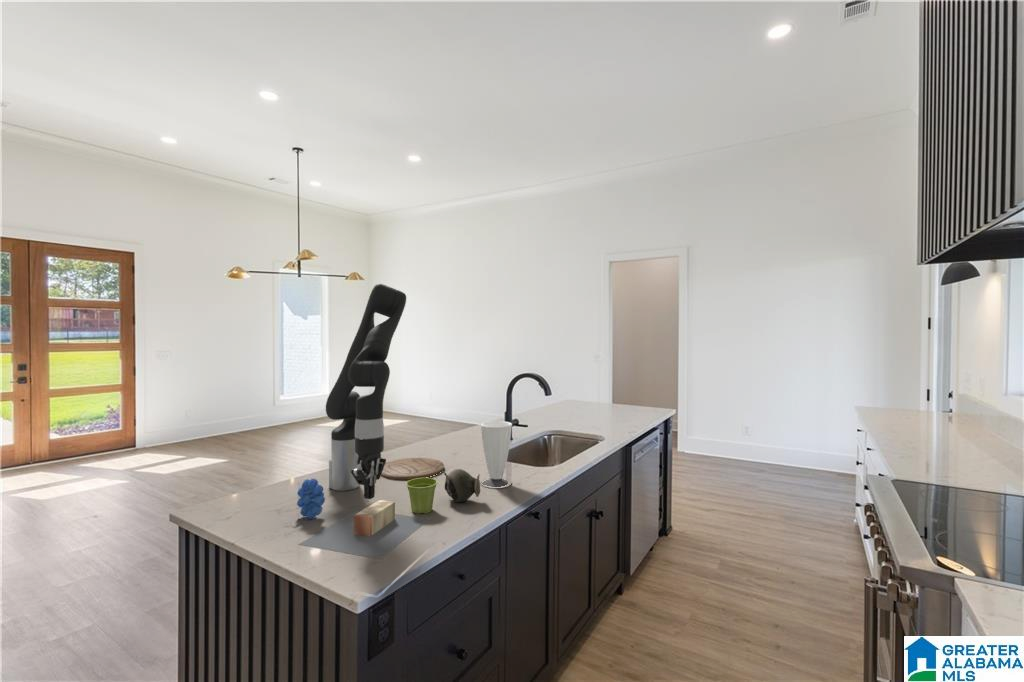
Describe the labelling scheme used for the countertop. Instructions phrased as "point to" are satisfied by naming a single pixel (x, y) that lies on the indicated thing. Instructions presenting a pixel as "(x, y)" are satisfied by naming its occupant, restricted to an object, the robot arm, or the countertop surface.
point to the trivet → (412, 468)
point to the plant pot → (421, 494)
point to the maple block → (374, 518)
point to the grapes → (311, 498)
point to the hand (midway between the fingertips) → (369, 498)
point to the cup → (496, 450)
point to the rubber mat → (374, 546)
